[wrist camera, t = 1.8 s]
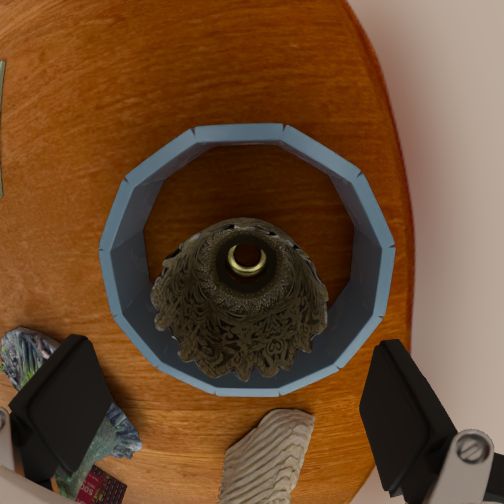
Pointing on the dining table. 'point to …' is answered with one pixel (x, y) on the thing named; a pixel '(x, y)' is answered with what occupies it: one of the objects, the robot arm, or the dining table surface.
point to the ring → (339, 315)
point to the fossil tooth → (267, 460)
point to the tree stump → (111, 429)
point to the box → (100, 488)
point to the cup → (240, 300)
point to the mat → (0, 74)
